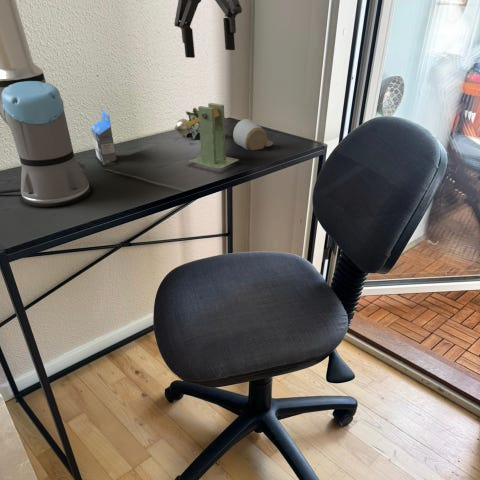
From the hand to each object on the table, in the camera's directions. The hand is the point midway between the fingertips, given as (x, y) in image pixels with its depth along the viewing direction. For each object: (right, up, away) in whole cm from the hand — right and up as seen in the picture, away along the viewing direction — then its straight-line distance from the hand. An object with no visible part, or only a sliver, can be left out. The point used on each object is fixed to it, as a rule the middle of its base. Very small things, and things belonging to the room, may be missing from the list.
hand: (209, 53), depth 118 cm
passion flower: (-5, -12, +27) cm, 30 cm away
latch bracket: (+1, -25, +9) cm, 26 cm away
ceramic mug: (+12, -17, +19) cm, 28 cm away
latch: (-3, -17, +5) cm, 18 cm away
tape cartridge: (-29, -23, +13) cm, 39 cm away
